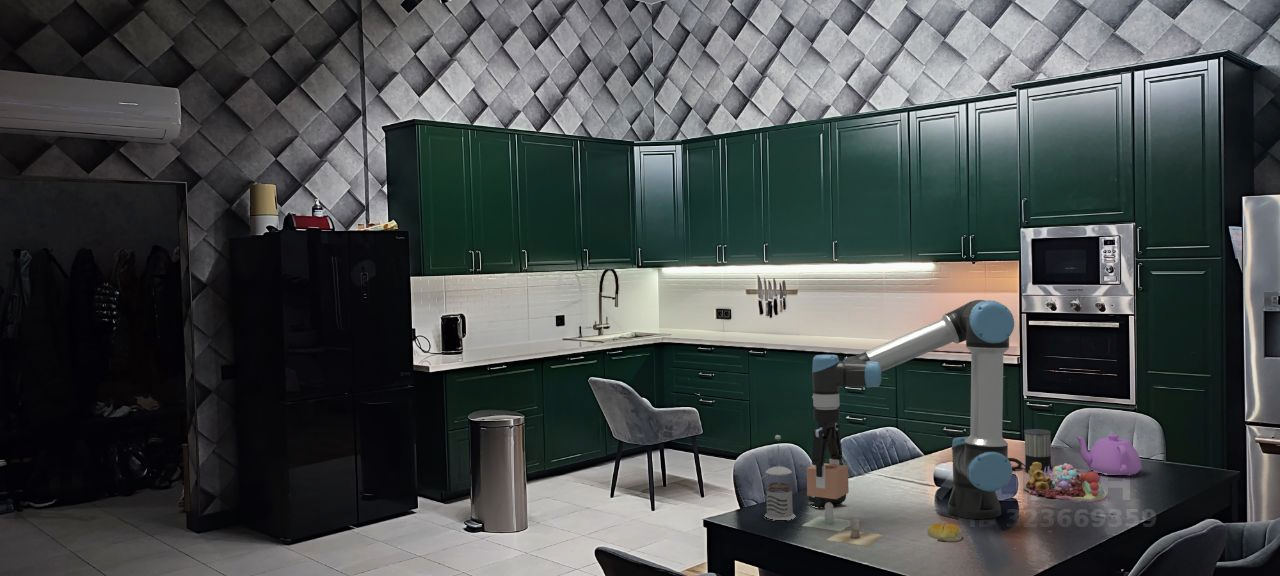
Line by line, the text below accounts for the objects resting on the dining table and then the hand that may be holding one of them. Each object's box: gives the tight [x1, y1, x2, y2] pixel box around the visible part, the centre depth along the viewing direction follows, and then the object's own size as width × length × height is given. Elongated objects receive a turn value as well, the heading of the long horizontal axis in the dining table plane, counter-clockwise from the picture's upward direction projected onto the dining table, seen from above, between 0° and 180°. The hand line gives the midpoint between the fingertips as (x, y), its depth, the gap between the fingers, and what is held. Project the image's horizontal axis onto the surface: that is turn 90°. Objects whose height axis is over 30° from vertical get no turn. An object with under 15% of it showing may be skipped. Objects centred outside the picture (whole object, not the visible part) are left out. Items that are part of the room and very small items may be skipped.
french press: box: [757, 434, 797, 521], centre depth 280 cm, size 10×12×25 cm
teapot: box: [1073, 433, 1142, 475], centre depth 325 cm, size 22×22×14 cm
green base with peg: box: [801, 502, 850, 532], centre depth 268 cm, size 12×12×7 cm
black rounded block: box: [808, 494, 847, 509], centre depth 291 cm, size 10×7×7 cm
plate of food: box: [1023, 462, 1108, 502], centre depth 300 cm, size 25×24×9 cm
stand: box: [825, 517, 885, 547], centre depth 253 cm, size 12×12×6 cm
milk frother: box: [1008, 428, 1053, 473], centre depth 333 cm, size 14×16×15 cm
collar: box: [806, 462, 850, 499], centre depth 268 cm, size 9×9×8 cm
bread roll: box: [927, 522, 964, 543], centre depth 252 cm, size 8×9×4 cm
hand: (827, 484), depth 268 cm, fingers closed on collar, 9 cm apart
